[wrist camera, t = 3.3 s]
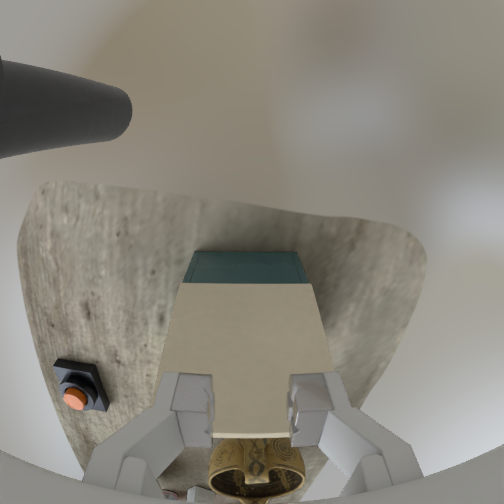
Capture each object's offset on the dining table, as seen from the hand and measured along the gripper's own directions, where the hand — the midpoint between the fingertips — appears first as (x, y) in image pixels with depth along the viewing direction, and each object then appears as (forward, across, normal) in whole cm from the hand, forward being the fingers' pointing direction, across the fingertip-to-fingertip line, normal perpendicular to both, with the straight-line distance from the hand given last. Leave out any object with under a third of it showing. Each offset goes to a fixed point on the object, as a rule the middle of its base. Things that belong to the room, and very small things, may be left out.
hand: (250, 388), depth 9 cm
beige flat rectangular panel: (+12, 0, +8) cm, 15 cm away
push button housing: (+29, +29, +32) cm, 52 cm away
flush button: (+25, +29, +32) cm, 50 cm away
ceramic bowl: (+29, -2, +45) cm, 54 cm away
